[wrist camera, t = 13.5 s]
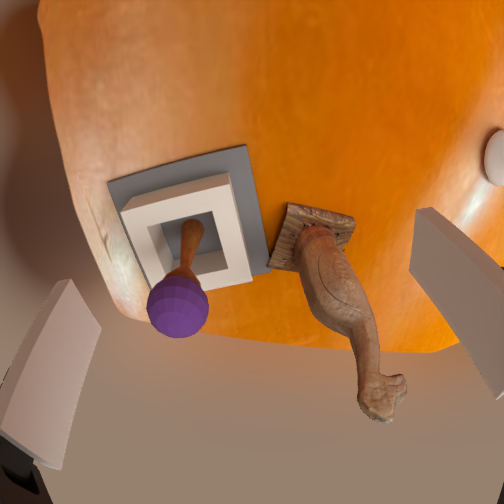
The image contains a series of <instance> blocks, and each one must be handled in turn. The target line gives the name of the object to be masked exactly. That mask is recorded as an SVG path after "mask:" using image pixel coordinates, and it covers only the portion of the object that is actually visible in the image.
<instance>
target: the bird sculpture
mask: <svg viewBox="0 0 504 504" xmlns="http://www.w3.org/2000/svg"><path fill="white" fill-rule="evenodd" d="M287 204H288V209H287V214H286V219H285V220H284V223H283V227H282V230H281V233H280V234H279V238H278V239H277V242H276V246H275V250H276V251H274V252H273V253H272V256H273V257H271V260H270V261H269V263H268V264H267V266H266V267H267V268H273V269H280V270H286V271H292V272H298V273H299V274H300V278H301V282H302V286H303V288H304V293H305V295H306V298H307V301H308V304H309V307H310V310H311V312H312V314H313V315H314V316H315V318H316V319H318V320H319V321H320V322H321V323H322V324H324V325H325V326H327V327H328V328H330V329H331V330H333V331H335V332H338V333H340V334H342V335H344V336H346V337H348V338H349V339H350V343H351V346H352V348H353V352H354V355H355V358H356V363H357V373H358V394H357V401H358V403H359V406H360V409H361V410H362V411H363V412H364V413H365V414H366V415H367V416H368V417H369V418H371V419H372V420H374V421H376V422H380V423H382V424H390V423H392V421H393V417H394V409H395V407H396V405H397V404H398V403H400V402H401V401H402V400H403V399H404V397H405V396H406V393H407V385H406V380H405V378H404V376H403V374H398V375H393V376H385V375H381V374H380V372H379V369H380V345H379V337H378V331H377V326H376V322H375V318H374V314H373V312H372V309H371V306H370V304H369V302H368V299H367V296H366V294H365V291H364V289H363V288H362V286H361V284H360V282H359V280H358V278H357V276H356V274H355V272H354V271H353V269H352V267H351V265H350V263H349V262H348V260H347V258H346V256H345V255H344V253H343V252H344V250H345V249H343V245H342V244H344V245H345V243H346V244H347V243H348V242H349V239H350V238H351V233H353V231H354V229H355V225H356V224H355V220H354V218H353V217H350V216H349V217H348V216H346V215H342V214H339V213H335V212H334V213H333V212H331V211H327V210H323V209H318V208H312V207H309V206H304V205H299V204H294V203H289V202H287ZM303 222H304V223H305V224H306V226H305V227H303V226H304V224H303ZM313 223H315V224H314V226H312V224H313ZM325 225H327V226H328V228H327V226H325ZM323 226H324V227H323ZM329 227H330V228H329ZM304 228H305V229H304ZM346 232H347V233H346ZM290 234H292V236H290ZM335 234H336V237H335ZM293 235H295V237H293ZM339 237H340V238H339ZM290 239H293V240H291V241H290ZM292 243H294V244H293V245H292ZM337 243H338V246H337ZM290 244H291V245H290ZM340 244H341V245H340ZM289 246H290V247H289ZM339 247H340V248H339ZM291 248H292V249H293V250H294V251H293V250H291ZM341 249H342V250H341ZM289 253H290V254H289ZM287 255H288V256H287ZM289 255H290V256H289ZM293 257H294V259H293ZM284 258H285V259H284ZM278 261H279V262H278Z"/></svg>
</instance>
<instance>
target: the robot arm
mask: <svg viewBox="0 0 504 504" xmlns="http://www.w3.org/2000/svg"><path fill="white" fill-rule="evenodd" d="M409 271H410V273H411V274H412V275H413V276H414V278H415V279H416V280H417V282H418V283H419V284H420V286H421V287H422V288H423V289H424V291H425V292H426V293H427V295H428V296H429V297H430V299H431V300H432V302H433V303H434V304H435V306H436V307H437V308H438V310H439V311H440V313H441V314H442V315H443V317H444V318H445V320H446V321H447V323H448V324H449V325H450V327H451V328H452V330H453V331H454V333H455V334H456V336H457V337H458V339H459V340H460V342H461V343H462V345H463V346H464V348H465V349H466V351H467V352H468V354H469V356H470V357H471V359H472V360H473V362H474V364H475V365H476V367H477V369H478V370H479V372H480V374H481V375H482V377H483V379H484V380H485V382H486V384H487V386H488V387H489V389H490V391H491V393H492V394H493V396H494V398H495V400H497V399H498V398H500V397H501V396H503V395H504V267H500V266H499V265H498V264H497V263H496V262H495V261H494V260H493V259H492V258H491V257H490V256H488V255H487V254H486V253H485V252H484V251H483V250H482V249H481V248H480V247H479V246H478V245H477V244H475V243H474V242H473V241H472V240H471V239H470V238H469V237H468V236H466V235H465V234H464V233H463V232H462V231H461V230H459V229H458V228H457V227H456V226H455V225H453V224H452V223H451V222H450V221H449V220H447V219H446V218H445V217H444V216H443V215H441V214H440V213H439V212H437V211H436V210H435V209H434V208H432V207H428V208H423V209H417V210H416V213H415V224H414V234H413V243H412V251H411V259H410V266H409ZM100 332H101V328H100V326H99V324H98V323H97V321H96V320H95V318H94V317H93V315H92V313H91V312H90V310H89V309H88V307H87V305H86V304H85V302H84V300H83V299H82V297H81V295H80V293H79V292H78V290H77V288H76V286H75V285H74V283H73V281H72V279H67V280H62V281H58V282H57V283H56V285H55V286H54V288H53V289H52V291H51V293H50V294H49V296H48V298H47V299H46V301H45V302H44V304H43V306H42V307H41V310H40V311H39V313H38V314H37V316H36V318H35V320H34V321H33V323H32V325H31V327H30V329H29V331H28V332H27V334H26V336H25V338H24V340H23V342H22V344H21V346H20V348H19V350H18V352H17V354H16V356H15V358H14V360H13V362H12V364H11V366H10V367H9V369H8V371H7V373H6V375H5V377H4V379H3V383H2V384H1V386H0V504H53V502H52V500H51V498H50V496H49V494H48V491H47V489H46V486H45V484H44V482H43V479H42V477H41V474H40V471H39V470H38V468H37V466H35V465H34V464H33V460H34V459H35V460H36V461H38V462H40V463H41V464H43V465H44V466H47V467H50V468H54V469H57V470H62V464H63V459H64V455H65V450H66V446H67V441H68V437H69V433H70V429H71V425H72V421H73V417H74V413H75V410H76V406H77V403H78V399H79V395H80V392H81V389H82V385H83V382H84V379H85V376H86V373H87V370H88V367H89V364H90V360H91V358H92V355H93V352H94V349H95V346H96V343H97V340H98V338H99V335H100ZM497 504H504V483H503V487H502V490H501V493H500V496H499V499H498V502H497Z"/></svg>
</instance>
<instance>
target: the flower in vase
mask: <svg viewBox="0 0 504 504" xmlns="http://www.w3.org/2000/svg"><path fill="white" fill-rule="evenodd" d="M484 166H485V171H486V174H487V177H488V179H489V181H490V182H491V183H492V184H493V185H495V186H504V130H499V131H497V132H496V133H494V134H493V135H492V137H491V138H490V140H489V141H488V144H487V146H486V150H485V156H484Z"/></svg>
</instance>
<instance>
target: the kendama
mask: <svg viewBox="0 0 504 504" xmlns="http://www.w3.org/2000/svg"><path fill="white" fill-rule="evenodd" d="M203 233H204V226H203V224H202V222H200V221H199V220H197V219H188V220H186V221H185V222H184V223H183V224H182V228H181V252H180V267H178V268H176V269H175V270H173V271H171V272H169V273H168V274H166V276H165V277H164V278H163V280H161V281H160V282H158V283H157V284H156V285H155V286H154V287H153V289H152V290H151V291H150V294H149V297H148V301H147V308H146V309H147V312H148V315H149V318H150V321H151V324H152V325H153V326H154V327H155V328H156V329H157V330H158V331H159V332H161V333H162V334H164V335H166V336H168V337H172V338H185V337H189V336H191V335H194V334H195V333H197V332H198V331H199V330H200V329H201V327H202V326H203V325H204V324H205V322H206V319H207V316H208V311H209V304H208V299H207V296H206V294H205V293H204V291H203V290H202V288H201V284H200V281H199V280H198V278H197V277H196V276H195V274H194V273H193V272H192V271H191V269H190V267H191V264H192V262H193V259H194V256H195V254H196V251H197V249H198V246H199V244H200V241H201V239H202V236H203Z"/></svg>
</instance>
